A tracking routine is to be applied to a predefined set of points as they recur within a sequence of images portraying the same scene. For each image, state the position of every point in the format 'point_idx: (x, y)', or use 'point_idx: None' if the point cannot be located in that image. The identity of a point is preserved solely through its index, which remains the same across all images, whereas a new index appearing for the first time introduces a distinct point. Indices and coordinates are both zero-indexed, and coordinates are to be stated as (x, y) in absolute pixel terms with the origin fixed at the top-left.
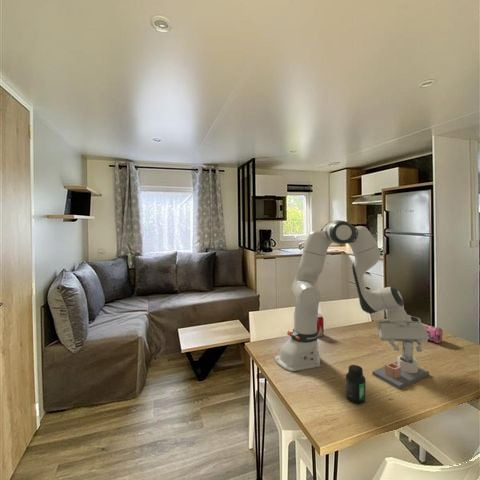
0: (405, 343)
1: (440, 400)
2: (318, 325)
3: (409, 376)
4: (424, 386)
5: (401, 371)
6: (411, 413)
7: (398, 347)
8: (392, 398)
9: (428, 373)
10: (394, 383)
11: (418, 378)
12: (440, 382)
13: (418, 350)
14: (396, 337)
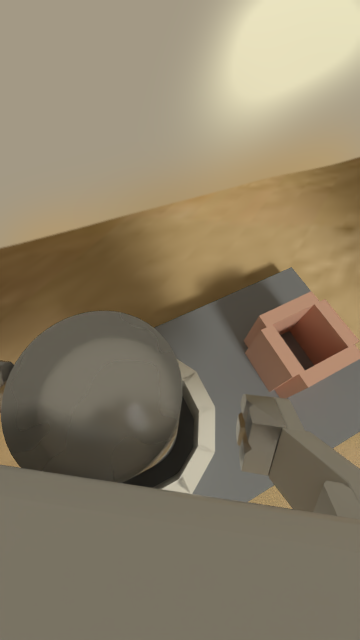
0: (169, 351)
1: (158, 214)
2: None
3: (193, 337)
4: (153, 291)
5: (209, 393)
6: (301, 172)
7: (251, 407)
8: (337, 231)
9: None
10: (306, 286)
11: None
12: (45, 316)
13: (13, 366)
14: (300, 522)
